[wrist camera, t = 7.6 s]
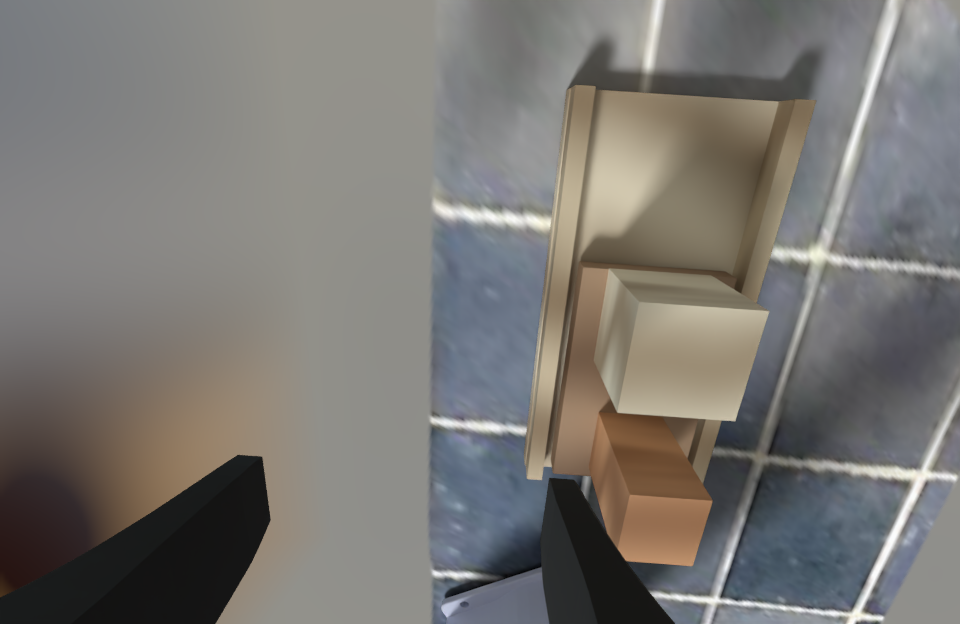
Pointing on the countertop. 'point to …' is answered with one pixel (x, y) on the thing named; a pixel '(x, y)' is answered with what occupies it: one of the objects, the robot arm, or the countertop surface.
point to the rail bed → (659, 211)
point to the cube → (676, 344)
